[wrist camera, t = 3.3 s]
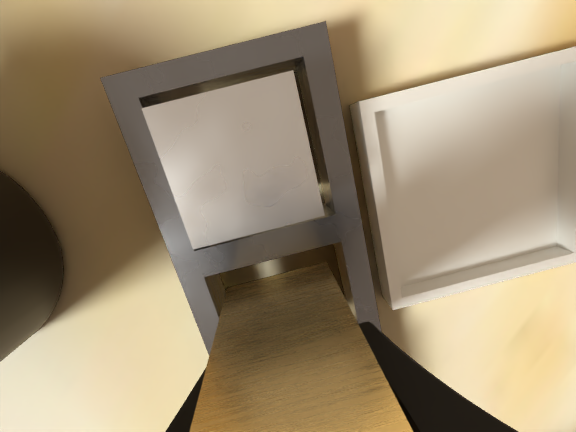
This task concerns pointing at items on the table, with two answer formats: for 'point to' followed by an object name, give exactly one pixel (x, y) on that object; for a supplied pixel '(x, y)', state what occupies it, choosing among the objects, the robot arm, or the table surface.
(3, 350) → the mug
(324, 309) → the wooden block
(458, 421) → the robot arm
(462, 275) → the parts tray
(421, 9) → the table surface
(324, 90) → the rail
